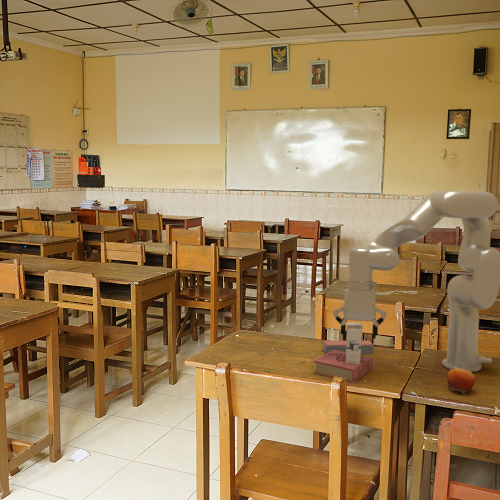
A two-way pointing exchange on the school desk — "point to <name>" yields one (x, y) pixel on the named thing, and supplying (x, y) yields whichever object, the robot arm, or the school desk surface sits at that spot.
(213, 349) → the school desk surface
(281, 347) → the school desk surface
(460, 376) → the fruit
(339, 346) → the pencil case
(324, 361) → the book
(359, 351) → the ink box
